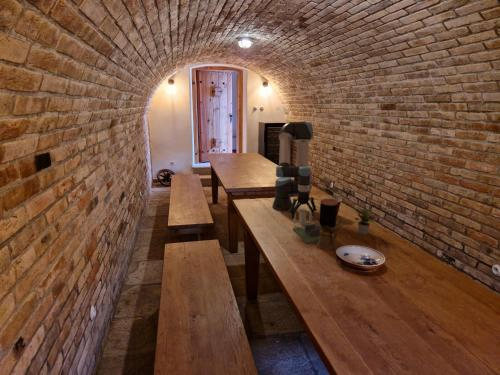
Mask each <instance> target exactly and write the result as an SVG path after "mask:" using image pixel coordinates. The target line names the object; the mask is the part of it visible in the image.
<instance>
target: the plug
mask: <svg viewBox="0 0 500 375" xmlns="http://www.w3.org/2000/svg"><path fill="white" fill-rule="evenodd" d="M298 209H299V208H298ZM298 211H299V212H298V224H299V225H300V227H304V226H305V225H306V223H307V210H306V209H304V208H300V209H299V210H298Z"/></svg>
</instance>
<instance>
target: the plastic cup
mask: <svg viewBox="0 0 500 375" xmlns="http://www.w3.org/2000/svg"><path fill="white" fill-rule="evenodd" d="M328 199H333V200H336V201H337V202H338V203H337V216H338V214H339V211H340V207H341V203H342V201H343V200H342V199H341V198H337V197H330V198H328Z"/></svg>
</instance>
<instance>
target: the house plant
mask: <svg viewBox="0 0 500 375" xmlns="http://www.w3.org/2000/svg"><path fill="white" fill-rule="evenodd" d="M366 209H367V207H364V211H363V209H360V210H359V209H358V210H357V209H356V210H355V211H354V212H355V213H357V216H358V217H355V218H354V220H355V221H358V222H357V227H358V228H357V230H358V233H359V234H360V235H367V234H368V233H369V229H370V226H371V223H370V222H372V223H375V222H376V220H375V219H377V217H376V216H373V215H374V214H375V213H376V211H374V212H372V213H370V212H371V211H372V210H371V208H368V209H367V210H366ZM360 212H361V213H360ZM369 213H370V214H369Z"/></svg>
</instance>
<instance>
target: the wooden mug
mask: <svg viewBox="0 0 500 375" xmlns="http://www.w3.org/2000/svg"><path fill="white" fill-rule="evenodd" d="M342 223H343V221H342V220H341V221H339V222H337V223H336V225H335V226H334V227H333V228H331V227H328V226H322V227H321V229H320V235H319V240H318V242H316V243H317V244H316V247H317V248H318V249H320V250H332V249H333V248H334V241H335V240H336V239H337V237H338V230H337V228H339V227H340V226H341V225H342Z"/></svg>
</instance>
